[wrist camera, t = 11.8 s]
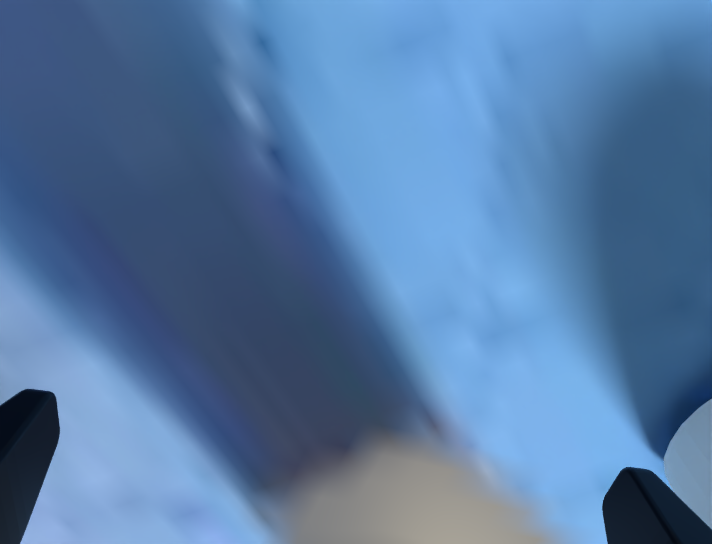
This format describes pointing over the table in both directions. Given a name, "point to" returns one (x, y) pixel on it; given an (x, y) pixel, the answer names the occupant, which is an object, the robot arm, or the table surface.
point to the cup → (693, 462)
